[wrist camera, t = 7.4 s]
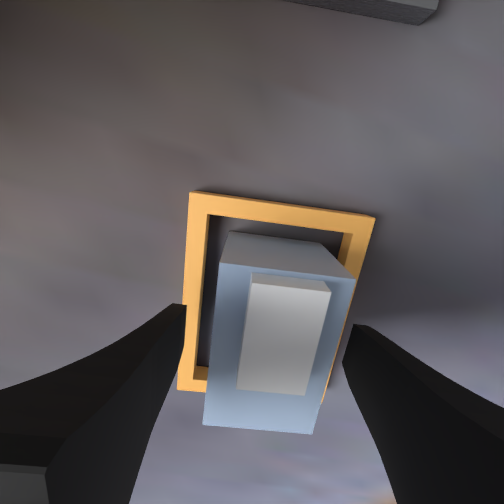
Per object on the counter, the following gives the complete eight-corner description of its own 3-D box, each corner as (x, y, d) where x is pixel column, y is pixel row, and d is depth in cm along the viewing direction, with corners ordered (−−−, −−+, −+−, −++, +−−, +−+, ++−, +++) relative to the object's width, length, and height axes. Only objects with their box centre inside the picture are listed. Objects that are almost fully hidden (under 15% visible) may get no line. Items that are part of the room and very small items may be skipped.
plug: (215, 349, 14) (198, 445, 9) (229, 230, 12) (216, 272, 7) (293, 357, 15) (316, 454, 10) (319, 242, 13) (367, 290, 8)
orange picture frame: (181, 375, 15) (176, 389, 14) (194, 190, 12) (189, 192, 11) (317, 388, 15) (321, 403, 14) (365, 214, 12) (375, 218, 11)
